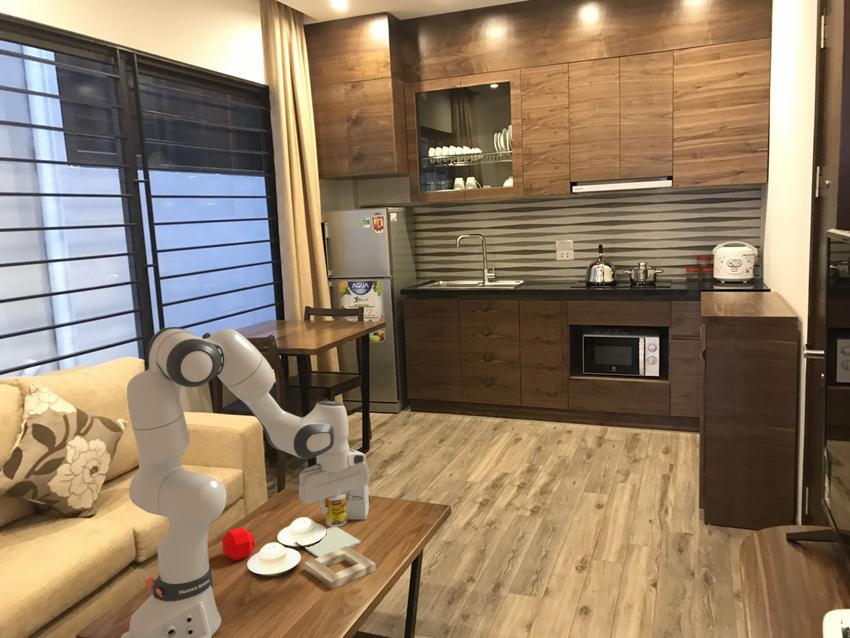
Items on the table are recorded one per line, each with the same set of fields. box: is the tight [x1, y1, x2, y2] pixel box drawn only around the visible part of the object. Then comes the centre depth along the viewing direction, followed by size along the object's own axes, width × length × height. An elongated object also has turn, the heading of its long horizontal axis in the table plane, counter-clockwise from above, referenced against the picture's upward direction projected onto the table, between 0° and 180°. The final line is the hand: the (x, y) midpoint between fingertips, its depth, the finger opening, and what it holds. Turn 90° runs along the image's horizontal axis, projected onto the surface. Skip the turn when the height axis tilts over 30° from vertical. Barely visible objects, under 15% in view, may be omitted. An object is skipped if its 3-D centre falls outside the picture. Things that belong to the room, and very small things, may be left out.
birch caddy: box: [304, 546, 377, 590], centre depth 187 cm, size 14×14×2 cm
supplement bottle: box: [324, 489, 348, 527], centre depth 185 cm, size 6×6×10 cm
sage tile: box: [304, 526, 362, 558], centre depth 204 cm, size 14×14×1 cm
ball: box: [222, 526, 256, 562], centre depth 197 cm, size 8×8×8 cm
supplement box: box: [344, 482, 370, 521], centre depth 221 cm, size 7×7×13 cm
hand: (336, 509), depth 185 cm, fingers closed on supplement bottle, 6 cm apart
